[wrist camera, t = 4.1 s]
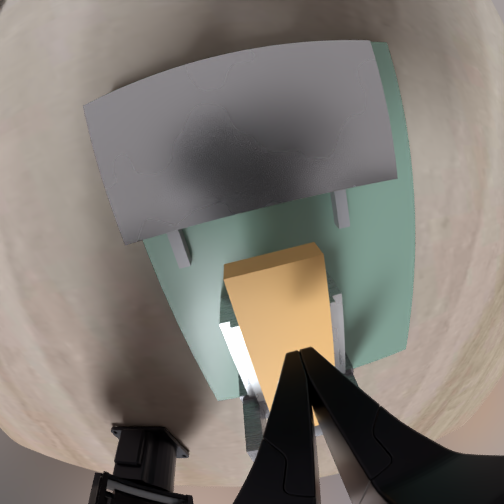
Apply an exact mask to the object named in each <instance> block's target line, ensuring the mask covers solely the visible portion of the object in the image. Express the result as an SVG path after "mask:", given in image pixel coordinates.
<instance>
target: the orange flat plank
mask: <svg viewBox="0 0 504 504" xmlns="http://www.w3.org/2000/svg"><path fill="white" fill-rule="evenodd" d="M223 280H224V283H225V286H226V289H227V292H228V295H229V298H230V301H231V304H232V307H233V310H234V313H235V316H236V319H237V322H238V325H239V328H240V331H241V334H242V336H243V339H244V342H245V345H246V348H247V351H248V354H249V356H250V359H251V362H252V365H253V368H254V370H255V373H256V376H257V379H258V382H259V384H260V387H261V390H262V392H263V395H264V398H265V400H266V403H267V406H268V408H269V411H270V410H271V407H272V403H273V400H274V396H275V392H276V389H277V385H278V381H279V378H280V374H281V370H282V366H283V362H284V358H285V355H286V353H288V352H291V351H295V350H298V351H299V350H300V349H303V348H307V347H313V348H314V349H315V350H316V351H317V352H319V353H320V354H321V355H322V356H323V357H324V358H325V359H327V360H328V361H329V362H330V363H331V364H332V365H333V366H335V360H334V346H333V333H332V322H331V312H330V302H329V293H328V284H327V276H326V268H325V260H324V254H323V253H322V251H321V250H320V249H319V247H318V246H317V245H316V244H315V242H312V243H308V244H304V245H300V246H296V247H292V248H288V249H284V250H280V251H276V252H272V253H268V254H264V255H259V256H255V257H251V258H247V259H243V260H239V261H235V262H231V263H227V264H224V277H223ZM312 409H313V407H312ZM313 416H314V425H315V435H316V436H320V435H323V433H322V430H321V428H320V426H319V423H318V421H317V418H316V416H315V413H314V411H313Z"/></svg>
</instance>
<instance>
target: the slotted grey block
mask: <svg viewBox="0 0 504 504" xmlns="http://www.w3.org/2000/svg"><path fill="white" fill-rule="evenodd" d="M326 276H327V284H328V293H329V302H330V312H331V322H332V333H333V346H334V360H335V367H336V368H337V369H338V370H339V371H340V372H342V373H345V339H344V319H343V304H342V293H341V292H340V290H339V289H338V287H337V285H336V284H335V282H334V281H333V279H332V278H331V276H330V275H329V273H328V272H327V270H326ZM219 324H220V327H221V329H222V332H223V335H224V337H225V340H226V342H227V345H228V347H229V350H230V352H231V355H232V357H233V360H234V362H235V364H236V367H237V369H238V372H239V374H240V376H241V379H242V381H243V383H244V386H245V388H246V391H247V393H248V395H249V397H252V396H256V398H257V400H258V402H259V401H264V400H265V398H264V395H263V392H262V390H261V387H260V384H259V382H258V379H257V376H256V373H255V370H254V368H253V365H252V362H251V359H250V356H249V354H248V351H247V348H246V345H245V342H244V339H243V336H242V334H241V331H240V328H239V325H238V322H237V319H236V316H235V313H234V310H233V307H232V304H231V301H230V298H229V295H225V296H221V297H220V322H219Z"/></svg>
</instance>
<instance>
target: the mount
mask: <svg viewBox="0 0 504 504" xmlns="http://www.w3.org/2000/svg"><path fill="white" fill-rule="evenodd" d="M343 374H344V375H345V376H346V377H347V378H348V379H350V380H351V381H352V382H353V383H354V384H356V385H357V386H358V384H357V382H356V380H355V378H354V376H353V366H352V364H351V362H350V360H349V358H348V356H347V353H346V351H345V373H343ZM238 379H239V396H240V399H241V401H242V403H243V412H244V425H245V438H246V451H247V453H248V455H249V456H250V458H251V459H252V461H253V462H254V461H255V458H256V455H257V452H258V450H259V446H260V443H261V440H262V439H263V434H264V431H265V427H266V424H267V423H266V418H268V417H269V414H270V411H269V408H268V406H267V403H266V400H264V401H259V402H258V400H257V398H256V396H252V397H249V395H248V393H247V391H246V388H245V386H244V383H243V381H242V379H241V376H240V374H238ZM358 387H359V386H358Z"/></svg>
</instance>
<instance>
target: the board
mask: <svg viewBox="0 0 504 504" xmlns="http://www.w3.org/2000/svg"><path fill="white" fill-rule="evenodd" d="M371 45H372V49H373V52H374V55H375V59H376V62H377V66H378V70H379V74H380V78H381V82H382V86H383V90H384V95H385V99H386V104H387V109H388V114H389V119H390V125H391V131H392V137H393V144H394V151H395V158H396V167H397V176H398V179H393V180H388V181H383V182H378V183H373V184H368V185H363V186H358V187H353V188H348V189H343V190H339V191H334V192H329V193H325V194H320V195H315V196H311V197H307V198H302V199H298V200H293V201H289V202H285V203H281V204H276V205H272V206H268V207H264V208H260V209H256V210H252V211H248V212H244V213H240V214H236V215H232V216H228V217H224V218H220V219H216V220H213V221H209V222H205V223H201V224H198V225H194V226H190V227H187V228H183V229H179V230H176V231H172V232H169V233H165V234H162V235H158V236H155V237H151V238H148V239H144V240H143V242H144V245H145V248H146V250H147V253H148V255H149V258H150V261H151V263H152V266H153V268H154V270H155V273H156V275H157V278H158V280H159V283H160V285H161V287H162V290H163V292H164V294H165V296H166V299H167V301H168V303H169V305H170V308H171V310H172V312H173V314H174V316H175V319H176V321H177V323H178V325H179V327H180V329H181V331H182V333H183V336H184V338H185V340H186V342H187V344H188V346H189V348H190V350H191V352H192V354H193V356H194V358H195V360H196V361H197V363H198V365H199V367H200V369H201V371H202V373H203V375H204V377H205V379H206V380H207V382H208V384H209V386H210V388H211V389H212V391H213V393H214V395H215V397H216V398H217V400H218V401H220V400H226V399H232V398H238V397H240V396H239V379H238V374H239V372H238V369H237V367H236V364H235V362H234V360H233V357H232V355H231V352H230V350H229V347H228V345H227V342H226V340H225V337H224V335H223V332H222V329H221V327H220V324H219V322H220V297H221V296H225V295H228V292H227V289H226V286H225V283H224V280H223V277H224V264H227V263H231V262H235V261H239V260H243V259H247V258H251V257H255V256H259V255H264V254H268V253H272V252H276V251H280V250H284V249H288V248H292V247H296V246H300V245H304V244H308V243H312V242H315V244H316V245H317V246H318V247H319V249H320V250H321V251H322V253H323V254H324V260H325V268H326V270H327V272H328V273H329V275H330V276H331V278H332V279H333V281H334V282H335V284H336V285H337V287H338V289H339V290H340V292H341V293H342V304H343V319H344V339H345V351H346V353H347V356H348V358H349V360H350V362H351V364H352V366H353V368H356V367H359V366H362V365H365V364H368V363H371V362H374V361H376V360H379V359H382V358H384V357H387V356H390V355H392V354H395V353H397V352H400V351H402V350H404V349H406V344H407V338H408V331H409V323H410V315H411V306H412V295H413V282H414V263H415V208H414V189H413V176H412V165H411V156H410V148H409V140H408V134H407V127H406V121H405V115H404V110H403V105H402V100H401V95H400V91H399V86H398V82H397V78H396V74H395V70H394V66H393V62H392V59H391V55H390V52H389V49H388V45H387V43H386V42H371Z"/></svg>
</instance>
